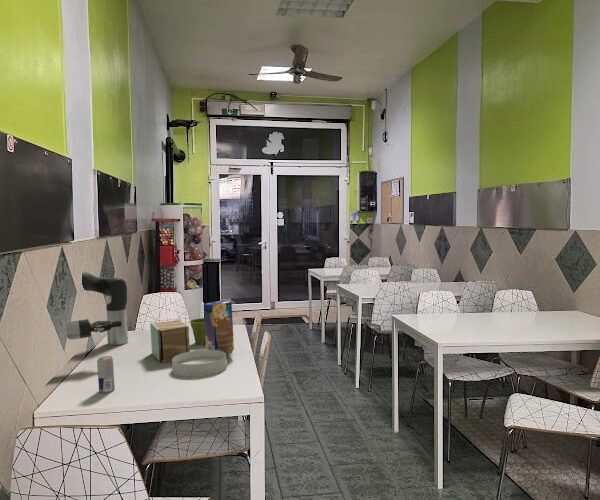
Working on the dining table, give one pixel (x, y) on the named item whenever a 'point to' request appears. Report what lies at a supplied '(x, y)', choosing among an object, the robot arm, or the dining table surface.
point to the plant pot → (198, 330)
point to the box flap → (156, 341)
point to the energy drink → (105, 374)
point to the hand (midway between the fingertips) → (121, 323)
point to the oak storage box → (173, 339)
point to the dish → (199, 363)
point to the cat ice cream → (224, 335)
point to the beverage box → (215, 321)
